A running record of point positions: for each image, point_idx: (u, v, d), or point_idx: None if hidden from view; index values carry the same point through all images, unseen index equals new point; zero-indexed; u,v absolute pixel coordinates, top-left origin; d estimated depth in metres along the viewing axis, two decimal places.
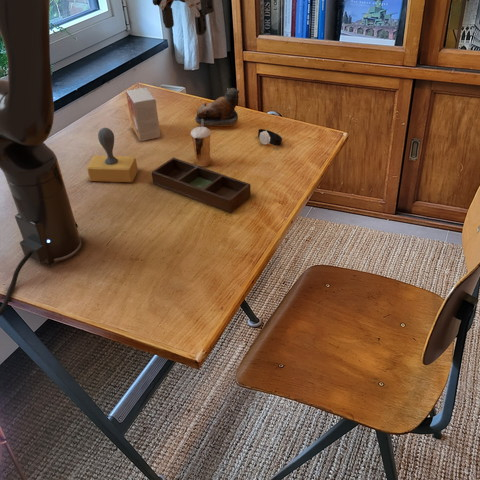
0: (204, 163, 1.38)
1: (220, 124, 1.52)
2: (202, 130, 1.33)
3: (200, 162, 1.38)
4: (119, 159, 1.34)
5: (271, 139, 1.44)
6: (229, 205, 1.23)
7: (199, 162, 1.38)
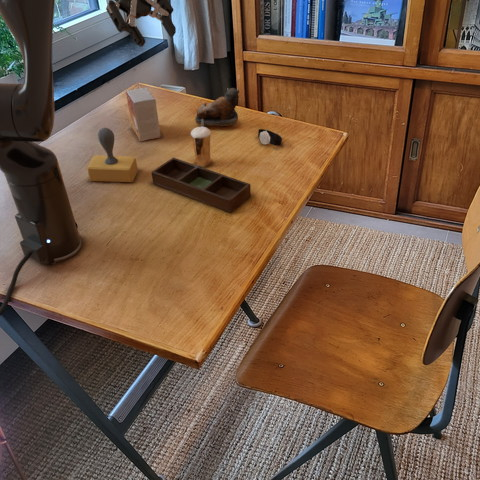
0: (204, 163, 1.38)
1: (220, 124, 1.52)
2: (202, 130, 1.33)
3: (200, 162, 1.38)
4: (119, 159, 1.34)
5: (271, 139, 1.44)
6: (229, 205, 1.23)
7: (199, 162, 1.38)
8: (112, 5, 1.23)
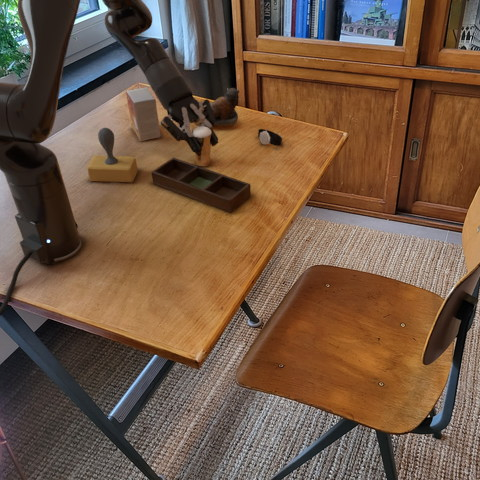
0: (204, 163, 1.38)
1: (220, 124, 1.52)
2: (203, 130, 1.33)
3: (200, 162, 1.38)
4: (119, 159, 1.34)
5: (271, 139, 1.44)
6: (229, 205, 1.23)
7: (199, 162, 1.38)
8: (168, 121, 1.31)
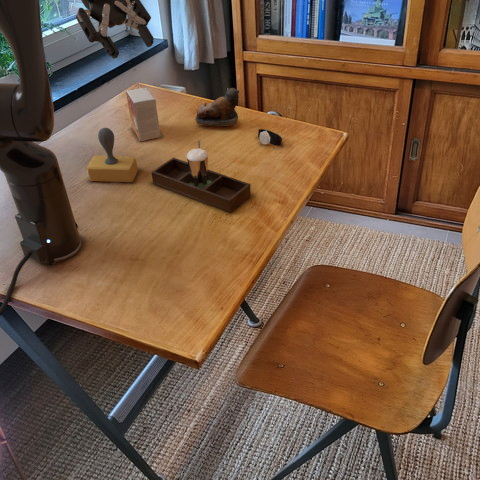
0: (201, 187, 1.28)
1: (220, 124, 1.52)
2: (199, 153, 1.24)
3: (197, 186, 1.28)
4: (119, 159, 1.34)
5: (271, 139, 1.44)
6: (229, 205, 1.23)
7: (196, 186, 1.28)
8: (82, 13, 1.12)
